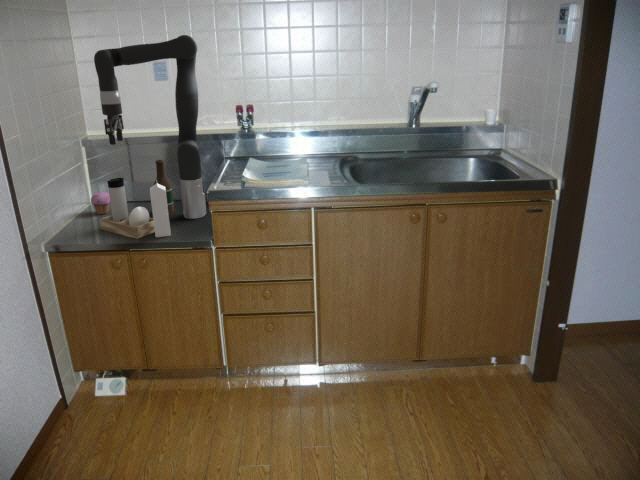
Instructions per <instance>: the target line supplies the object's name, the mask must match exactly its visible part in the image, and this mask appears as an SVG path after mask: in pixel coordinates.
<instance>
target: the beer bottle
mask: <svg viewBox="0 0 640 480" xmlns="http://www.w3.org/2000/svg"><path fill="white" fill-rule="evenodd" d="M164 163H165V160H163V159H157V160H155V166H156V168H155V169H156V179H155V180H154V183H153V186H154V185H155V184H157V183H158V184H160V185H162V186H165V188H166V197H167V205H168V214H169V215H171V214H173V213H175V204H174V194H173V188H172V184H171V181H170V180H169V179H168V177H167V174H166V170H165V164H164Z"/></svg>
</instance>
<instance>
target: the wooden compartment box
mask: <svg viewBox="0 0 640 480" xmlns="http://www.w3.org/2000/svg"><path fill="white" fill-rule="evenodd" d="M130 213H131V212H128V215H129V216H130ZM98 221H99V227H100V230H102V231H105V232H109V233H113V234H118V235H120V236H121V235H122V236H125V237H129V238H134V239H137V240H138V239H140V238H142V237H145V236H148V235H151V234H153V233H154V234H155V229H154V221H153V217H149V222H148V223H145V224H143V225H140V226H137V227H134V226H130V223H129V219H127V220H124V221H121V222H119V223H118V222H114V221H113V216H112V214H110V215H107V216H104V217H102V218H99V220H98Z"/></svg>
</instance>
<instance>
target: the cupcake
mask: <svg viewBox="0 0 640 480" xmlns="http://www.w3.org/2000/svg"><path fill="white" fill-rule="evenodd" d="M90 203H91V205H93V207H94V209H95V213H96V214H97V215H106V214H108V213H109V211H110V205H111V203H110V197H109V192H107V191H96V192H94V193H93V194H92V196H91V198H90Z"/></svg>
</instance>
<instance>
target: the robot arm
mask: <svg viewBox="0 0 640 480" xmlns="http://www.w3.org/2000/svg"><path fill="white" fill-rule="evenodd" d="M197 43H198V42H196V40H195V39H194V38H193V37H192V36H191V35H187V34H182V35H179V36H177V37H176V38H173V39H170V40H169V39H168V40H166V41H161V42H156V43H155V42H153V43H143V44H133V45H127V46H122V47H118V48H117V47H116V48H107V49H99V50H97V51H96V52H95V53H94V57H93V62H94V68H95V71H96V75H97V78H98V87H99V100H100V105H101V111H102V112H101V113H102V115H103V116H106V117H107V118H104V119H103V124H104V132H105V135H107V136H108V141H109V146H111V145H112V146H114V145H116V143H117V142H122V141H123V140H124V139H123V130H124V128H125V127H124V122H123V121H124V120H123V116H122V114H123V108H122V100H121V95H120V92H119V91H120V90H119V85H118V80H117V76H116V73H115V67H119V66H132V65H139V64H145V63H149V62H154V61H159V60H168V59H169V60H170V59H175V61H176V78H175V79H176V80H175V81H176V82H175V89H174V90H175V93H174V97H175V98H174V99H175V111H176V112H175V113H176V119H177V124H178V125H177V126H178V140H177V141H178V142H177V148H176V149H177V150H176V154H177V155H176V156H177V164H178V173H179V174H178V175H179V182H180V192H181V202H182V210H183V212H182V213H183V218H185V219H190V220H192V219H193V220H195V219H196V220H197V219H201V218H203V217H205V216H206V214H207V205H206V203H207V201H206V195H205V194H206V193H204V187H203V178H202V163H201V154H200V148H199V144H198V135H197V124H198V117H199V90H198V89H199V88H198V81H197V76H196V61H197V59H196V58H197V53H198V44H197ZM115 134H116V135H115ZM116 140H117V141H116Z"/></svg>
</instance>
